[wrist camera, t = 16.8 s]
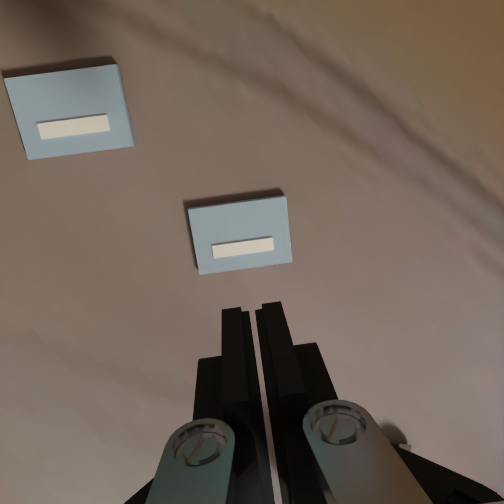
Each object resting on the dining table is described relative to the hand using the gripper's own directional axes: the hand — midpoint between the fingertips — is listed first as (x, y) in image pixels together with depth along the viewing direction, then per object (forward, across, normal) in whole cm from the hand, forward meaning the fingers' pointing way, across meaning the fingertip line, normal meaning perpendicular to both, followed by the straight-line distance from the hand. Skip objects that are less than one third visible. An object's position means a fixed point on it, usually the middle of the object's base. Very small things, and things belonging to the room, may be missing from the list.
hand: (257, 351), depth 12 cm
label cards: (+11, +3, -3) cm, 12 cm away
